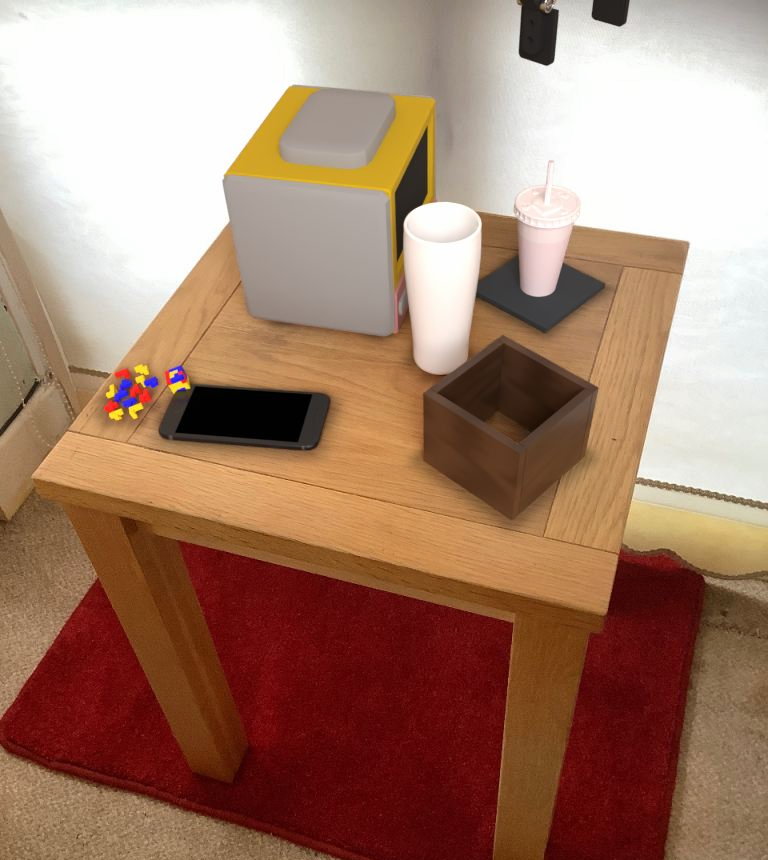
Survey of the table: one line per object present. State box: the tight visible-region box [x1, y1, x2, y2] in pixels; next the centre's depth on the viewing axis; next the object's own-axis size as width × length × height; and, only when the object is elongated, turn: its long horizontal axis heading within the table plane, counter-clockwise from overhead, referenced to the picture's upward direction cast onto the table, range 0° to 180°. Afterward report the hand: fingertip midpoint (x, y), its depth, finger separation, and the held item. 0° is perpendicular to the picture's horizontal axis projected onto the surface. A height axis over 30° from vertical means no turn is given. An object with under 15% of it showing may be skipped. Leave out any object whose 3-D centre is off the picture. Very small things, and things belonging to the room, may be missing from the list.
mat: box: [476, 254, 606, 333], centre depth 91 cm, size 10×10×1 cm
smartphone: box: [157, 383, 332, 452], centre depth 80 cm, size 7×15×1 cm, turn 82°
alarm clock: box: [221, 84, 438, 338], centre depth 86 cm, size 20×16×18 cm
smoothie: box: [512, 159, 582, 297], centre depth 85 cm, size 6×6×14 cm
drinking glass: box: [403, 201, 483, 376], centre depth 79 cm, size 7×7×15 cm
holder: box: [422, 334, 599, 521], centre depth 73 cm, size 10×10×8 cm
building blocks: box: [103, 364, 191, 421], centre depth 83 cm, size 6×8×2 cm
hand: (573, 40), depth 72 cm, fingers open, 9 cm apart
